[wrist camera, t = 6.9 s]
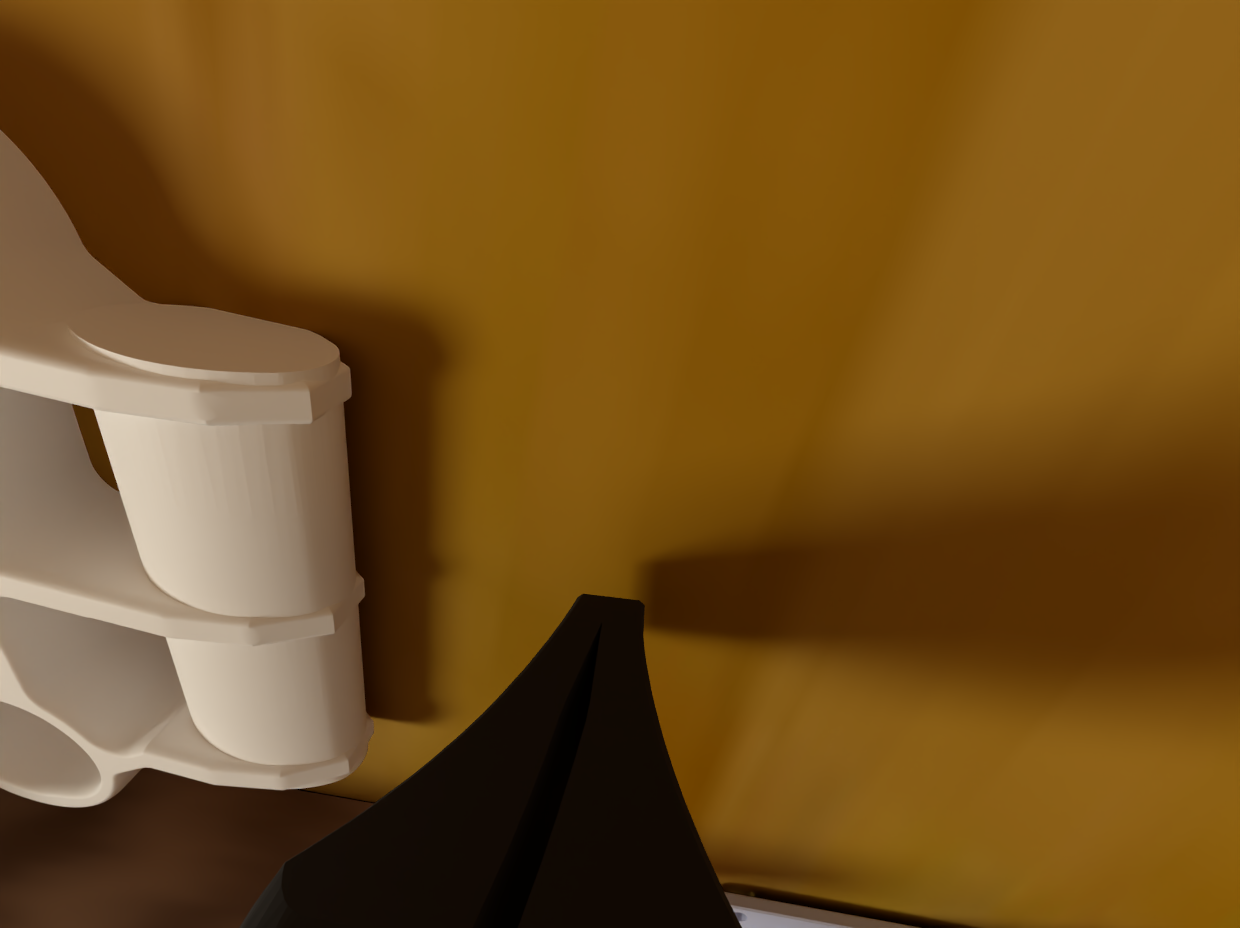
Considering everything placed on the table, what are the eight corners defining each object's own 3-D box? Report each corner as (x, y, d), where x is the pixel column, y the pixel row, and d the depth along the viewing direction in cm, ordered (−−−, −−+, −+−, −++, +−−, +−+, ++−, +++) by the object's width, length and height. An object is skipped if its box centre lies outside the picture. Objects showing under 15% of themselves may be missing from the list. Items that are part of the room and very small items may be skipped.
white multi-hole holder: (395, 771, 19) (-13, 663, 19) (373, 156, 10) (-376, 1, 10) (335, 886, 16) (-145, 753, 16) (224, 153, 7) (-802, -62, 8)
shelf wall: (675, -75, 7) (470, -1208, 1) (628, 869, 18) (582, 1228, 12) (-575, -37, 10) (-2483, -333, 4) (25, 760, 21) (-260, 1004, 15)
